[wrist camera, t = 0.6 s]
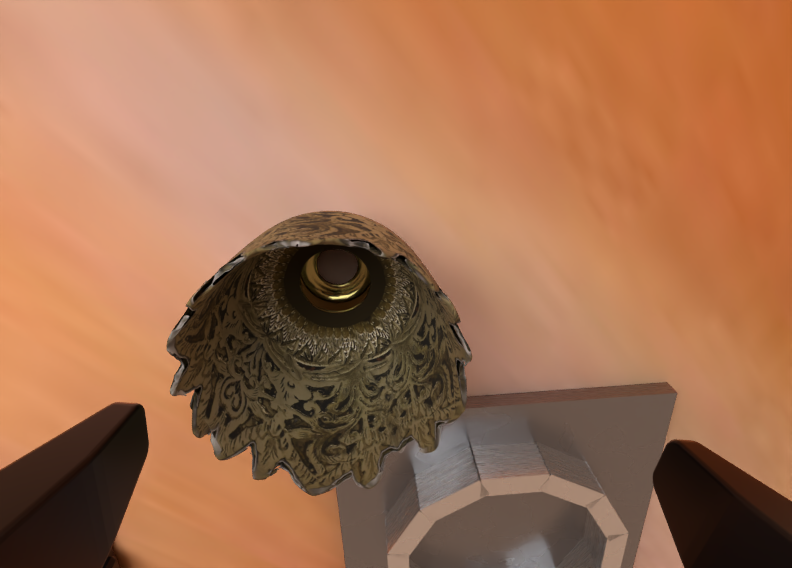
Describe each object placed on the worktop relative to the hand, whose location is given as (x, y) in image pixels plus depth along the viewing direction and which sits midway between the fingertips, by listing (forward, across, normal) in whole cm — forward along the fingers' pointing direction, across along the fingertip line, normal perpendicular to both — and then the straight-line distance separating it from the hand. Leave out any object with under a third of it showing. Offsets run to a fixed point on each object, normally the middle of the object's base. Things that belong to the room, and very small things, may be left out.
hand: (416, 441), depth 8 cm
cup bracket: (+11, -7, +16) cm, 21 cm away
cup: (+12, +2, +2) cm, 12 cm away
